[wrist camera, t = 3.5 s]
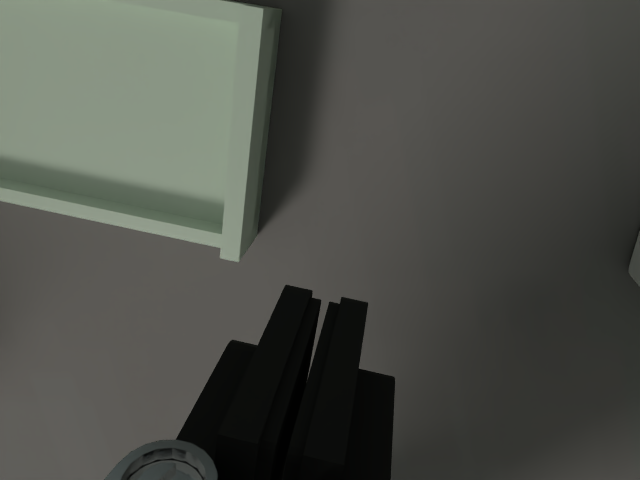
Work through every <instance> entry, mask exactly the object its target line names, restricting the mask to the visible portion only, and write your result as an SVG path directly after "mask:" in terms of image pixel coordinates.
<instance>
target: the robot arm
mask: <svg viewBox="0 0 640 480" xmlns="http://www.w3.org/2000/svg"><path fill="white" fill-rule="evenodd" d="M320 306H321V300H320V299H315V298H312V290H308V289H303V288H299V287H294V286H289V285H285V287H284V289H283V291H282V293H281V296H280V298H279V300H278V302H277V304H276V307H275V309H274V311H273V313H272V315H271V317H270V320H269V322H268V324H267V326H266V328H265V331H264V333H263V335H262V337H261V339H260V342H259V344H258V346H257V345H253V344H249V343H244V342H240V341H236V340H232V341H230V342H229V344H228V345H227V347H226V349H225V350H224V352H223V354H222V356H221V358H220V360H219V361H218V363H217V365H216V367H215V369H214V371H213V372H212V374H211V376H210V378H209V380H208V382H207V383H206V385H205V387H204V389H203V391H202V393H201V394H200V396H199V398H198V400H197V402H196V404H195V405H194V407H193V409H192V411H191V413H190V415H189V416H188V418H187V420H186V422H185V424H184V426H183V427H182V429H181V431H180V433H179V435H178V437H177V438H176V440H159V441H155V442H151V443H148V444H145V445H143V446H141V447H139V448H137V449H135V450H133V451H131V452H130V453H129V454H128V455H126V456H125V457H124V458H123V459H122V460H121V461H120V462H119V463H118V464H117V465H116V466H115V467H114V468H113V470H112V471H111V472H110V473H109V474H108V475H107V477H106V478H105V479H104V480H390V479H391V458H392V436H393V415H394V393H395V378H394V377H393V376H388V375H384V374H379V373H375V372H371V371H366V370H362V369H359V362H360V355H361V348H362V342H363V335H364V328H365V322H366V315H367V308H368V303H367V302H363V301H358V300H354V299H349V298H344V297H341V301H340V304H338V303H333V302H329V305H328V309H327V312H326V316H325V319H324V323H323V327H322V330H321V334H320V337H319V341H318V344H317V348H316V351H315V355H314V359H313V362H312V366H311V369H310V373H309V376H308V372H309V367H310V361H311V356H312V350H313V345H314V339H315V333H316V328H317V322H318V317H319V311H320ZM307 378H308V380H307ZM306 383H307V384H306Z"/></svg>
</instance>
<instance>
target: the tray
mask: <svg viewBox="0 0 640 480" xmlns="http://www.w3.org/2000/svg"><path fill="white" fill-rule="evenodd" d="M281 18H282V9H278V8H273V7H267V6H261V5H255V4H250V3H244V2H238V1H232V0H0V201H4V202H8V203H13V204H18V205H22V206H27V207H32V208H36V209H41V210H46V211H50V212H55V213H60V214H64V215H69V216H74V217H78V218H83V219H88V220H93V221H97V222H102V223H107V224H111V225H116V226H121V227H125V228H130V229H135V230H139V231H144V232H149V233H153V234H158V235H163V236H167V237H172V238H177V239H181V240H186V241H191V242H195V243H200V244H205V245H209V246H214V247H219V248H221V252H220V258H222V259H226V260H231V261H236V262H239V261H240V260H241V258H242V257H243V255H244V254H245V252H246V251H247V249H248V248H249V247H250V245H251V244H252V242H253V241H254V239H255V238H256V236H257V232H258V223H259V214H260V205H261V196H262V187H263V178H264V169H265V160H266V151H267V143H268V134H269V125H270V116H271V107H272V98H273V89H274V80H275V71H276V62H277V53H278V44H279V35H280V26H281Z"/></svg>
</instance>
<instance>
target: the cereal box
mask: <svg viewBox="0 0 640 480" xmlns="http://www.w3.org/2000/svg"><path fill="white" fill-rule="evenodd" d="M628 270H629V275H630V276H631V277H632V278H633V279H634V281H635V282H636V283H637V284H638V285H639V286H640V231H639V234H638V238H637V241H636V244H635V248H634V251H633V255H632V258H631V261H630V265H629V269H628Z"/></svg>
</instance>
